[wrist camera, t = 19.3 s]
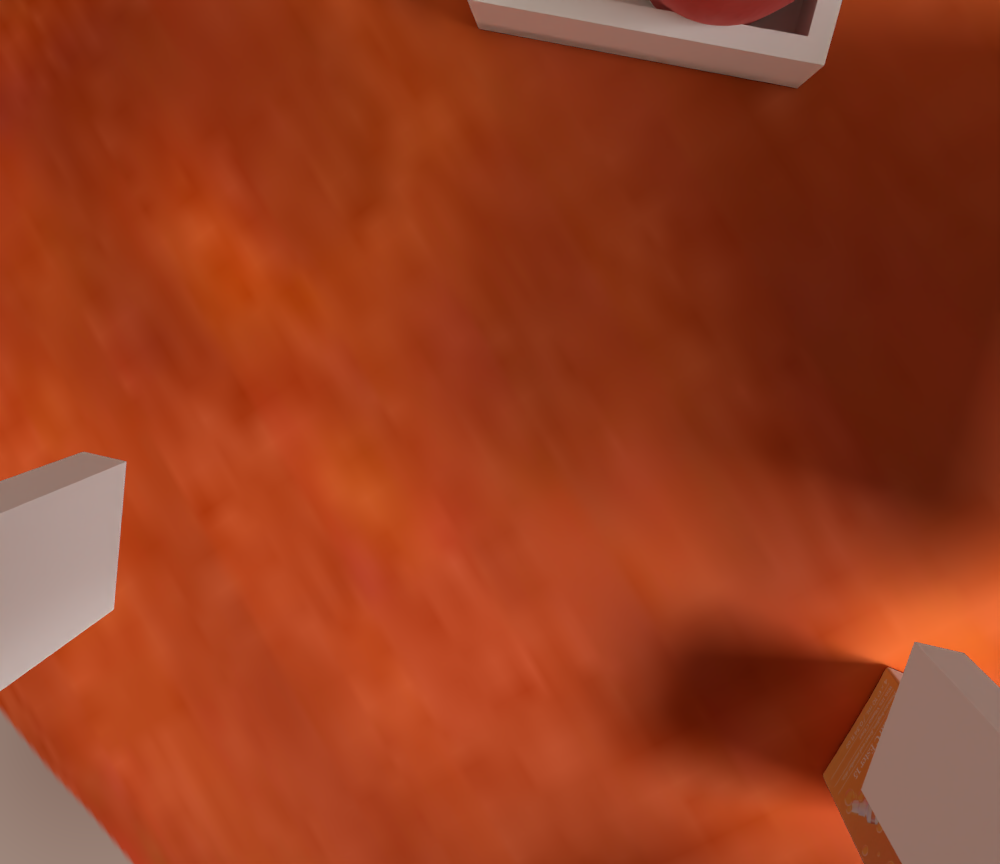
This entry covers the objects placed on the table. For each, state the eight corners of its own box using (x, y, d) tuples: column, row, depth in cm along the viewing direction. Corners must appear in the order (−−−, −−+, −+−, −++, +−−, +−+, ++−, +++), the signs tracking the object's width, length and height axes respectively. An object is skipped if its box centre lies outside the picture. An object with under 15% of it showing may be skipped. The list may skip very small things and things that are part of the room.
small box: (884, 662, 41) (1020, 834, 29) (989, 706, 41) (1171, 897, 29) (817, 776, 43) (916, 983, 31) (917, 817, 43) (1058, 1043, 30)
